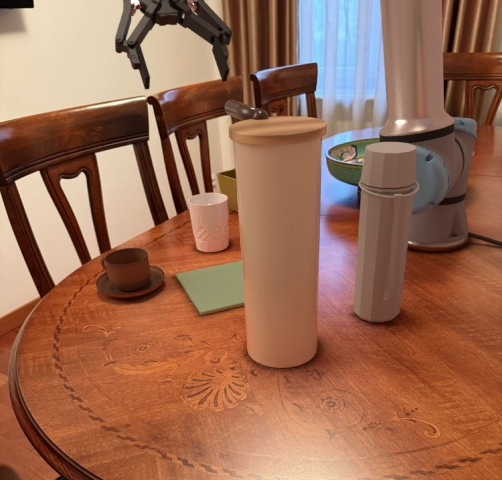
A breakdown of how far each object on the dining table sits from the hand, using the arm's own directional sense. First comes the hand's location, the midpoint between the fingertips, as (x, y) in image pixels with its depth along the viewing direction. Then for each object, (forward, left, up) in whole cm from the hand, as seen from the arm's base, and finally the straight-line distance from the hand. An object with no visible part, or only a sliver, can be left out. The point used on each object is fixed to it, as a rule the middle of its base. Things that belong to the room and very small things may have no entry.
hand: (187, 79), depth 87 cm
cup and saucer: (+7, +16, -32) cm, 37 cm away
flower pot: (+1, -28, -32) cm, 42 cm away
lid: (-20, +24, -3) cm, 32 cm away
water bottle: (-36, +16, -32) cm, 50 cm away
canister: (-24, +28, -32) cm, 48 cm away
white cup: (0, -5, -32) cm, 32 cm away
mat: (-10, +11, -32) cm, 35 cm away
